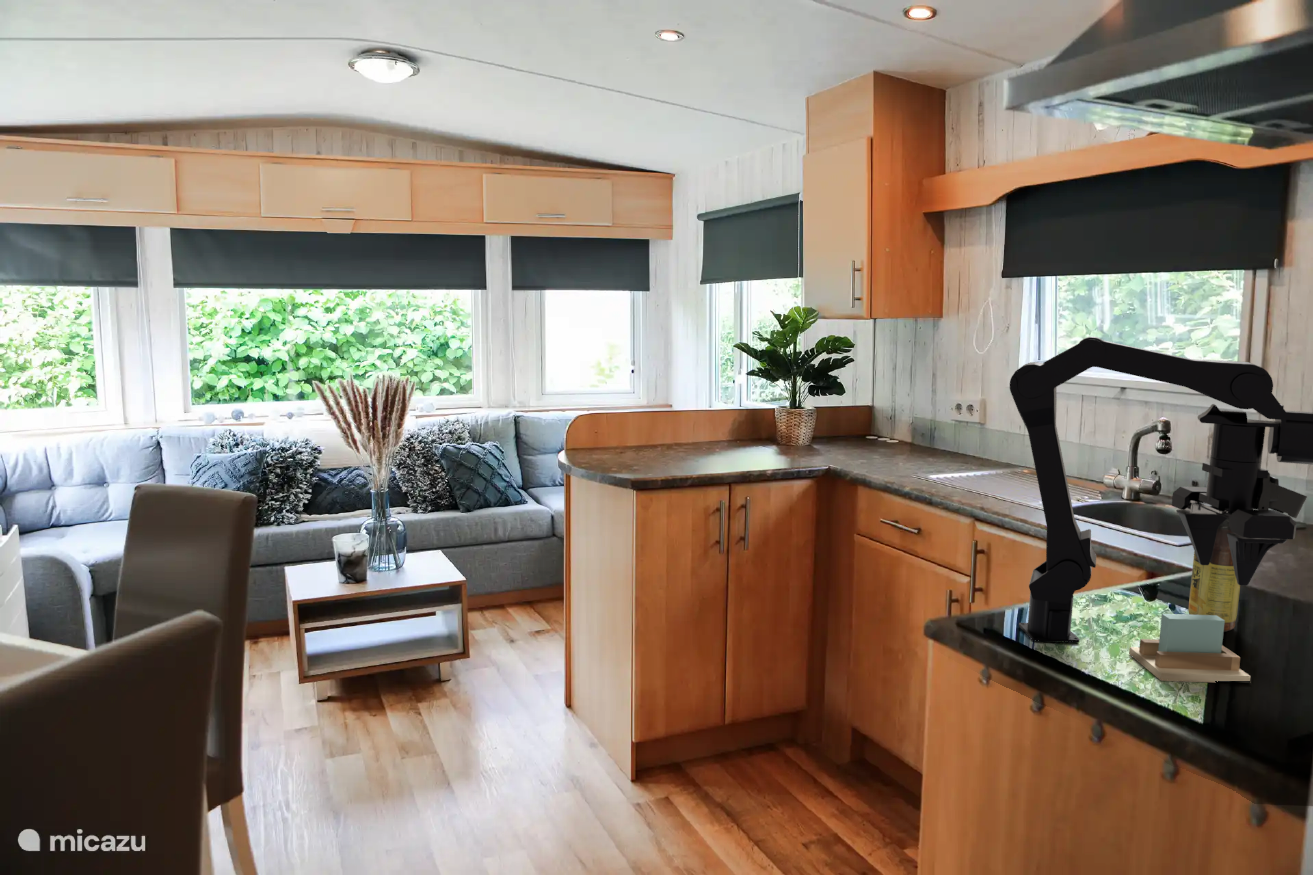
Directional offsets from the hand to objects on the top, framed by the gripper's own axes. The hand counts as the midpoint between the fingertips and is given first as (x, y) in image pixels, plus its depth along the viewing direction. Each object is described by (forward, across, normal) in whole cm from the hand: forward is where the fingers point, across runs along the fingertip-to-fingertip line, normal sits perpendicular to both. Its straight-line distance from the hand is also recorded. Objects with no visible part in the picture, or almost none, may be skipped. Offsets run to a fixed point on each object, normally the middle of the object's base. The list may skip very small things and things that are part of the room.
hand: (1222, 574), depth 124 cm
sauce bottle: (+12, +14, -7) cm, 20 cm away
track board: (+12, -3, +5) cm, 13 cm away
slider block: (+11, -3, +5) cm, 12 cm away
